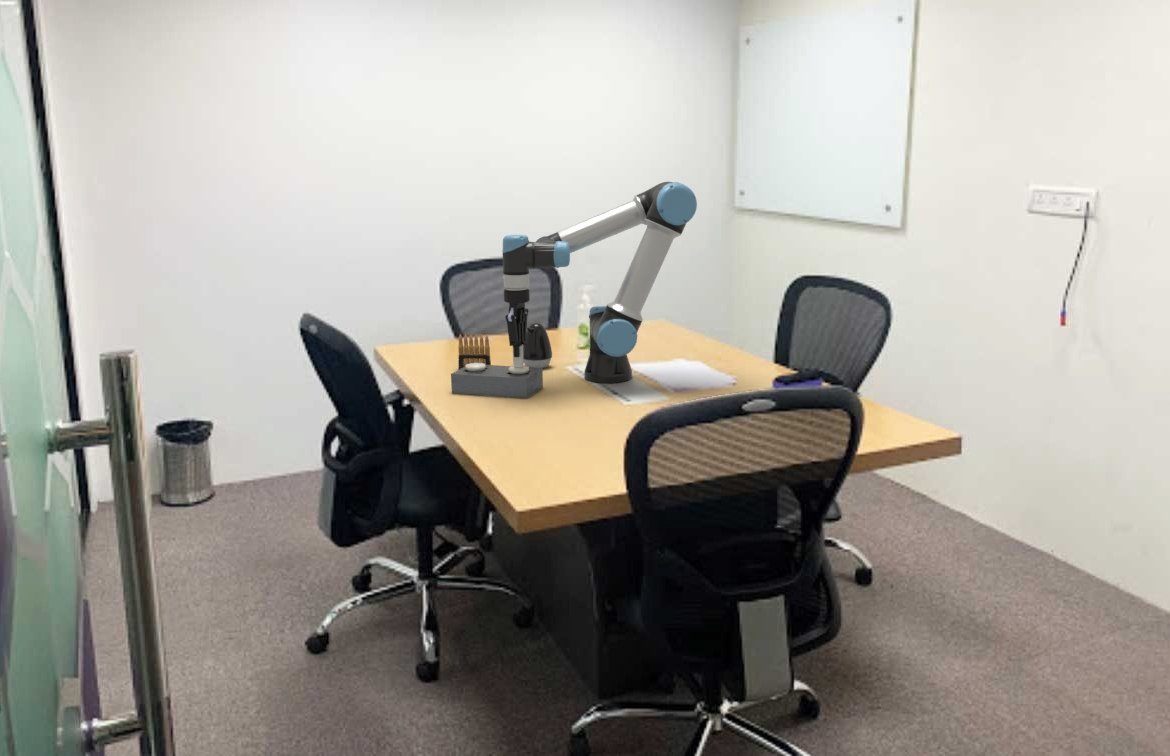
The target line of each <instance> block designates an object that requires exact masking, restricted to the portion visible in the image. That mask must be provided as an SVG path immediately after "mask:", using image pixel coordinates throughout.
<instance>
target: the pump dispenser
mask: <svg viewBox="0 0 1170 756" xmlns="http://www.w3.org/2000/svg"><path fill="white" fill-rule="evenodd" d="M524 342H526V345H523V364H524V366H528V367H531V368H543V369H545V368H547V367H548V366H549V365H550V363H551V360H552V358H553V351H552V350H553V349H552V346H551V341H550V337H549V335H548V332H547V330H546V328H545V327H544V325H543V324H542V323H540V322H533V323H531V324H530V325H529V326H528V327H527V330H526V341H524Z"/></svg>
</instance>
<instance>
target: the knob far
mask: <svg viewBox="0 0 1170 756" xmlns="http://www.w3.org/2000/svg"><path fill="white" fill-rule="evenodd" d="M485 369H486V365H485V364H484V363H475V362H474V363H470V364H466V370H468V371H469V372H483V370H485Z"/></svg>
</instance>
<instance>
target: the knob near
mask: <svg viewBox="0 0 1170 756" xmlns="http://www.w3.org/2000/svg"><path fill="white" fill-rule="evenodd" d="M510 366H511V365H510ZM528 372H529V367H528V366H526V365H524V367H522V368H518V367H513V365H512V366H511V367H509V373H512V374H514V375H526V373H528Z"/></svg>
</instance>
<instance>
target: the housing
mask: <svg viewBox="0 0 1170 756" xmlns="http://www.w3.org/2000/svg"><path fill="white" fill-rule="evenodd" d="M509 367H511V365H497V364H496V365H495V364H491V365H486V369H485V370H483V372H469V371H468V370H466V366H465V367H463V368H461V369H459V370H458V369H457V370H456V371H453V372H452V373H450V384H451V385H450V386H451V394H456V395H471V396H483V397H486V396H487V397H498V398H513V399H528V398H530V397H531V396H532V395H534V394H536V393H537V392H539V391H540V390H541V389H542V388H544V379H543V378H544V374H543V372H544V371H543V369H544V368H531V367H529V372H528V373H526V375H514V374H512V373H509Z"/></svg>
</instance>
